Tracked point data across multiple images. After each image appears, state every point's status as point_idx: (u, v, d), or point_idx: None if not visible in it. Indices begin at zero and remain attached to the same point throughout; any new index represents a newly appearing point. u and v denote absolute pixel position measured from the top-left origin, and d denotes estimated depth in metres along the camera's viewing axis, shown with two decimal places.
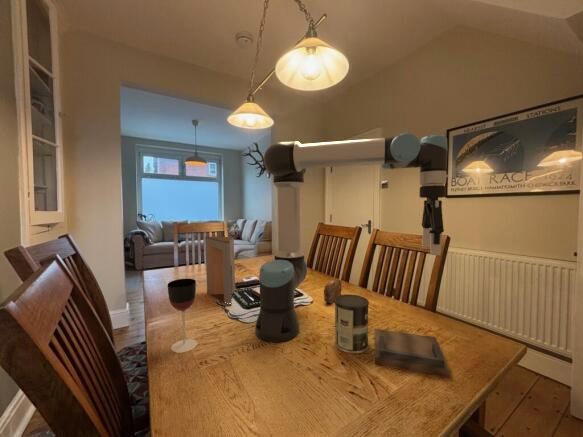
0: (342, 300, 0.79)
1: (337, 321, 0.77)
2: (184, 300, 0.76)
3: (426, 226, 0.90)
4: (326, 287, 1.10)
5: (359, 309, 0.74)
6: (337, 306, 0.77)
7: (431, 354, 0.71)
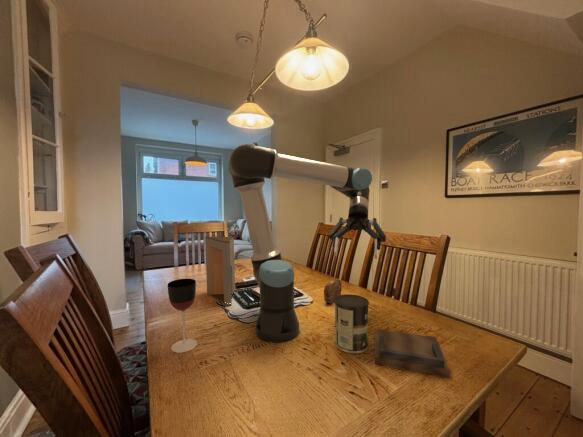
0: (342, 300, 0.79)
1: (337, 321, 0.77)
2: (184, 300, 0.76)
3: None
4: (326, 287, 1.10)
5: (359, 309, 0.74)
6: (337, 306, 0.77)
7: (431, 354, 0.71)
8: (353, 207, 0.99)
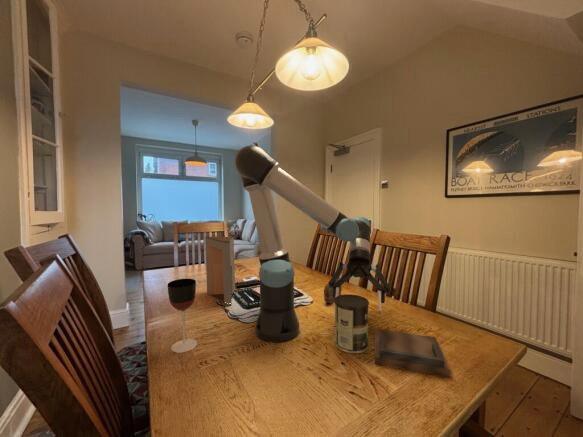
0: (342, 300, 0.79)
1: (337, 321, 0.77)
2: (184, 300, 0.76)
3: (336, 286, 0.88)
4: (326, 287, 1.10)
5: (359, 309, 0.74)
6: (337, 306, 0.77)
7: (431, 354, 0.71)
8: (354, 251, 0.92)
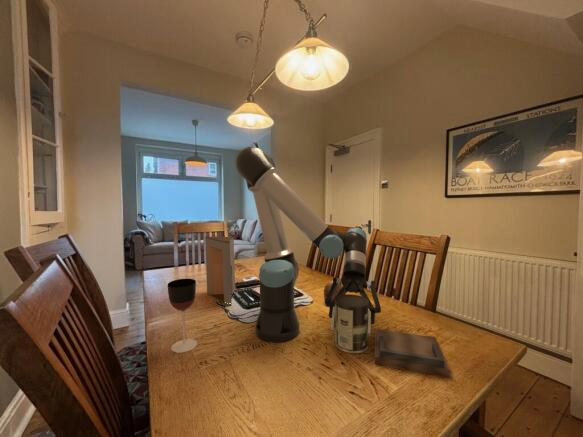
0: (342, 300, 0.79)
1: (337, 321, 0.77)
2: (184, 300, 0.76)
3: (333, 305, 0.83)
4: (326, 287, 1.10)
5: (359, 309, 0.74)
6: (337, 306, 0.77)
7: (431, 354, 0.71)
8: (348, 265, 0.88)
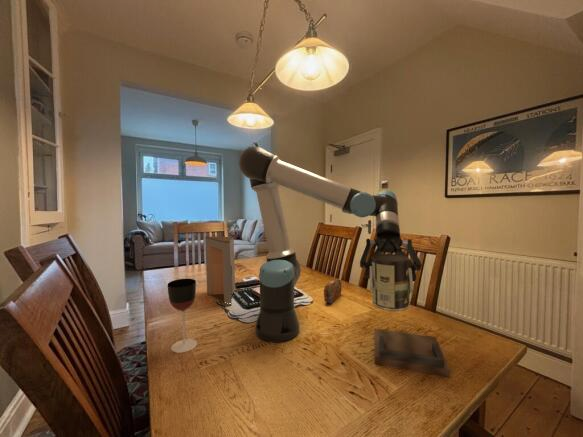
0: (380, 258, 0.75)
1: (376, 279, 0.73)
2: (184, 300, 0.76)
3: (369, 266, 0.79)
4: (326, 287, 1.10)
5: (400, 264, 0.70)
6: (376, 263, 0.73)
7: (431, 354, 0.71)
8: (382, 225, 0.84)
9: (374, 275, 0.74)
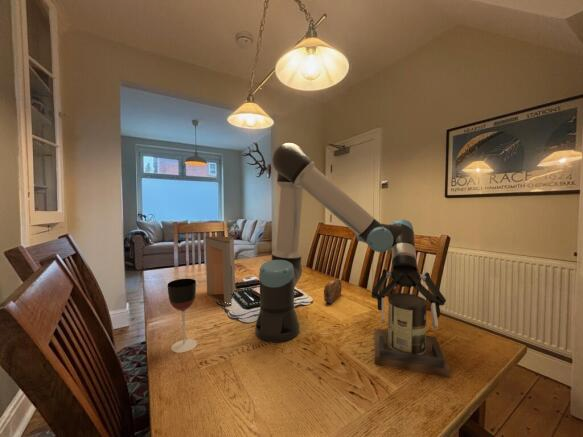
0: (397, 299, 0.74)
1: (393, 321, 0.73)
2: (184, 300, 0.76)
3: (381, 297, 0.79)
4: (326, 287, 1.10)
5: (419, 309, 0.69)
6: (393, 305, 0.72)
7: (431, 354, 0.71)
8: (399, 257, 0.82)
9: (391, 317, 0.73)
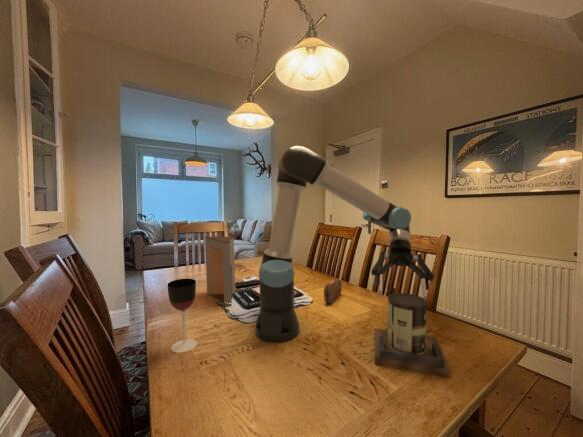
0: (397, 299, 0.74)
1: (393, 321, 0.73)
2: (184, 300, 0.76)
3: None
4: (326, 287, 1.10)
5: (418, 309, 0.69)
6: (393, 305, 0.72)
7: (431, 354, 0.71)
8: (396, 241, 0.96)
9: (391, 317, 0.73)
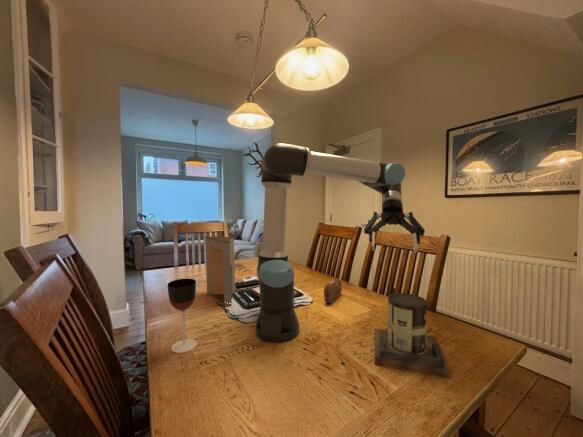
0: (397, 299, 0.74)
1: (393, 321, 0.73)
2: (184, 300, 0.76)
3: (372, 232, 0.94)
4: (326, 287, 1.10)
5: (418, 309, 0.69)
6: (393, 305, 0.72)
7: (431, 354, 0.71)
8: (388, 201, 0.98)
9: (391, 317, 0.73)
